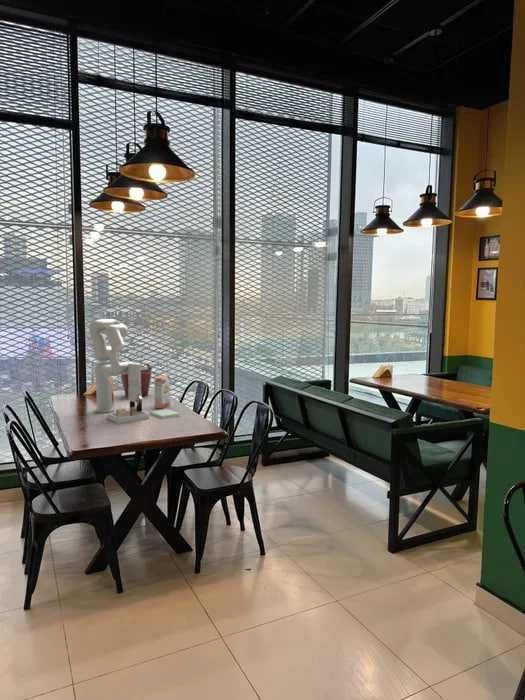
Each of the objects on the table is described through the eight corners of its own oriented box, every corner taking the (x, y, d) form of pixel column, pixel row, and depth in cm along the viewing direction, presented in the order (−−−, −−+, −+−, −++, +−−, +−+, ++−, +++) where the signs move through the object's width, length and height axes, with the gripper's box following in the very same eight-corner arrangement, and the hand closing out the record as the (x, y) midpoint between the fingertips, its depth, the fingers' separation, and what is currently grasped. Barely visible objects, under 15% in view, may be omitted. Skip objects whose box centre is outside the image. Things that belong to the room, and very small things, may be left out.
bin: (107, 419, 305) (107, 413, 305) (138, 414, 317) (138, 409, 317) (118, 424, 293) (118, 418, 292) (149, 419, 305) (149, 413, 305)
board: (150, 414, 317) (150, 411, 317) (167, 411, 325) (167, 408, 324) (162, 419, 305) (162, 416, 305) (179, 416, 312) (179, 413, 312)
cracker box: (162, 409, 333) (162, 378, 331) (154, 408, 334) (153, 377, 332) (170, 404, 346) (170, 375, 344) (162, 404, 348) (162, 374, 345)
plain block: (115, 419, 302) (115, 409, 302) (123, 418, 306) (123, 408, 305) (119, 420, 299) (119, 411, 298) (127, 419, 302) (126, 409, 301)
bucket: (151, 392, 393) (150, 360, 390) (156, 397, 373) (156, 364, 370) (119, 394, 383) (118, 362, 380) (123, 399, 363) (122, 365, 360)
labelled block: (129, 417, 308) (129, 407, 307) (137, 415, 311) (137, 406, 311) (133, 418, 304) (133, 409, 303) (141, 417, 307) (140, 407, 307)
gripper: (123, 382, 310) (124, 409, 311) (135, 385, 296) (136, 413, 298) (134, 380, 314) (135, 407, 316) (146, 383, 301) (147, 411, 302)
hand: (135, 410), depth 307 cm, fingers open, 9 cm apart
